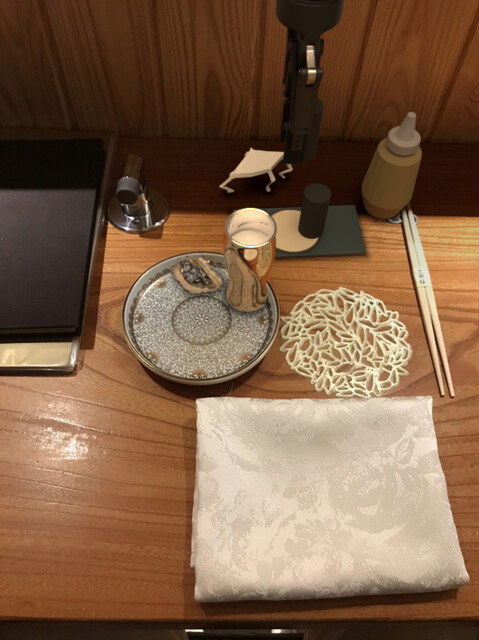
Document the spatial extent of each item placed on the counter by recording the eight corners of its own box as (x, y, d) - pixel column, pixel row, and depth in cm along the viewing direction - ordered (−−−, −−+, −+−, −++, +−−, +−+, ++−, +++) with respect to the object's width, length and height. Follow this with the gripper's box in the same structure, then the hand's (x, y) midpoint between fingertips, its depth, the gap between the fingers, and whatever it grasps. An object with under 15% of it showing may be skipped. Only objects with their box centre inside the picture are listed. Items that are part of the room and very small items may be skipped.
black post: (314, 142, 82) (322, 94, 75) (317, 161, 80) (325, 114, 73) (287, 142, 82) (292, 94, 75) (289, 161, 80) (294, 114, 73)
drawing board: (354, 207, 92) (355, 204, 92) (365, 255, 87) (366, 252, 87) (233, 212, 91) (233, 208, 91) (237, 260, 86) (237, 257, 86)
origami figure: (258, 154, 99) (259, 131, 94) (293, 179, 96) (296, 156, 91) (208, 188, 94) (207, 166, 90) (244, 215, 91) (244, 194, 87)
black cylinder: (321, 219, 90) (329, 182, 83) (325, 238, 88) (333, 202, 81) (296, 220, 90) (302, 183, 83) (299, 239, 88) (305, 203, 81)
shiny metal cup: (213, 292, 83) (211, 223, 70) (249, 268, 85) (253, 198, 73) (244, 323, 80) (247, 257, 67) (280, 297, 83) (290, 229, 70)
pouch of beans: (189, 249, 87) (188, 241, 86) (233, 271, 85) (233, 264, 83) (163, 279, 84) (162, 271, 82) (208, 303, 82) (208, 295, 80)
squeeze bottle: (411, 198, 94) (447, 106, 79) (398, 231, 90) (433, 141, 75) (365, 182, 95) (391, 90, 80) (350, 215, 92) (374, 123, 76)
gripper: (271, -58, 65) (260, 112, 85) (286, 26, 56) (270, 194, 76) (335, -58, 66) (309, 111, 85) (360, 25, 57) (324, 193, 76)
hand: (290, 150), depth 81 cm, fingers closed on black post, 4 cm apart
